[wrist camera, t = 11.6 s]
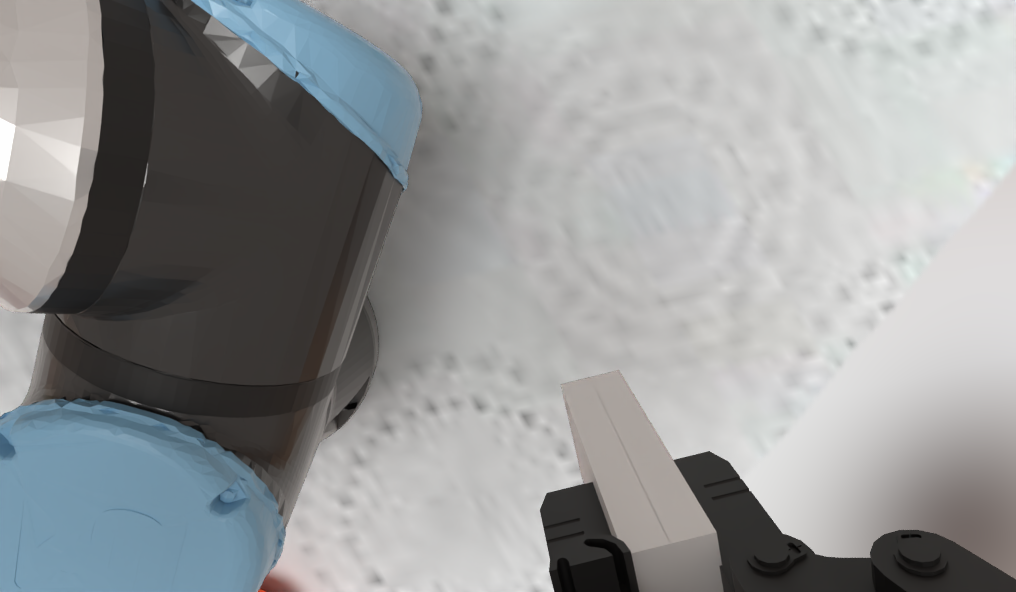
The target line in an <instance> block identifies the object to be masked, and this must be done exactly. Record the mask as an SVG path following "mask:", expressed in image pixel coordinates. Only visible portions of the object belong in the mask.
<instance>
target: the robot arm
mask: <svg viewBox="0 0 1016 592" xmlns="http://www.w3.org/2000/svg"><path fill="white" fill-rule="evenodd" d="M421 119H422V101H421V98H420V95H419V92H418V89H417V86H416V84H415V83H414V81H413V79H412V77H411V75H410V74H409V73H408V72H407V71H406V70H405V69H404V68H403V67H402V66H401V65H400V64H399V63H398V62H397V61H395V60H394V59H393V58H392V57H390V56H389V55H388V54H386V53H385V52H383V51H382V50H381V49H379V48H378V47H376V46H375V45H373V44H372V43H370V42H369V41H367V40H366V39H364V38H363V37H361V36H359V35H358V34H356V33H355V32H353V31H351V30H350V29H348V28H346V27H345V26H343V25H342V24H340V23H338V22H337V21H335V20H333V19H332V18H330V17H328V16H326V15H325V14H323V13H321V12H320V11H318V10H316V9H314V8H313V7H311V6H309V5H307V4H305V3H304V2H302V1H300V0H0V305H1V306H2V307H3V308H4V309H6V310H8V311H11V312H18V313H45V314H46V315H45V319H44V324H43V329H42V333H41V338H40V343H39V347H38V352H37V357H36V361H35V366H34V371H33V375H32V380H31V384H30V387H29V390H28V393H27V395H26V397H25V399H24V401H23V403H22V404H21V406H19V407H18V408H16V409H15V410H13V411H11V412H8V413H4V414H3V415H2V416H0V592H258V590H259V589H260V587H261V585H262V583H263V581H264V579H265V577H266V575H267V574H269V572H270V570H271V569H272V568H274V567H275V565H276V563H277V561H278V560H279V558H280V556H281V553H282V551H283V545H284V540H285V536H286V532H285V529H286V527H287V524H288V522H289V519H290V516H291V514H292V511H293V509H294V506H295V504H296V501H297V499H298V496H299V493H300V491H301V488H302V486H303V483H304V481H305V478H306V476H307V473H308V470H309V468H310V465H311V463H312V460H313V458H314V455H315V453H316V450H317V447H318V445H319V443H320V442H321V441H323V440H324V439H326V438H327V437H329V436H330V435H332V434H333V433H335V432H336V431H337V430H338V429H340V428H341V427H342V426H343V425H344V424H345V423H346V422H347V421H348V420H349V419H350V418H351V417H352V415H353V414H354V413H355V412H356V410H357V409H358V407H359V406H360V404H361V403H362V401H363V399H364V398H365V396H366V394H367V391H368V389H369V386H370V384H371V381H372V377H373V374H374V371H375V367H376V363H377V357H378V347H379V340H378V329H377V323H376V319H375V315H374V312H373V309H372V307H371V304H370V302H369V300H368V298H367V296H366V295H367V292H368V289H369V286H370V283H371V280H372V277H373V274H374V271H375V268H376V265H377V263H378V260H379V257H380V254H381V251H382V248H383V245H384V242H385V239H386V236H387V233H388V230H389V227H390V224H391V221H392V218H393V215H394V212H395V209H396V206H397V203H398V200H399V198H400V195H401V192H404V191H406V189H407V187H408V179H409V178H408V174H407V168H408V165H409V161H410V158H411V154H412V151H413V147H414V144H415V140H416V137H417V133H418V129H419V126H420V122H421ZM561 388H562V392H563V397H564V401H565V405H566V410H567V414H568V419H569V423H570V427H571V432H572V436H573V440H574V445H575V449H576V454H577V458H578V462H579V467H580V471H581V476H582V479H583V482H584V484H582V485H578V486H574V487H570V488H566V489H562V490H558V491H554V492H550V493H547V494H546V496H545V499H544V501H543V504H542V506H541V509H540V512H541V517H542V522H543V527H544V532H545V537H546V541H547V546H548V551H549V556H550V568H549V572H550V576H551V580H552V584H553V588H554V592H1016V580H1015V579H1014V578H1012V577H1011V576H1009V575H1007V574H1006V573H1004V572H1003V571H1001V570H999V569H998V568H996V567H994V566H992V565H991V564H989V563H988V562H986V561H984V560H983V559H981V558H979V557H978V556H976V555H975V554H973V553H971V552H970V551H968V550H966V549H965V548H963V547H961V546H960V545H958V544H956V543H955V542H953V541H951V540H948V539H946V538H944V537H942V536H939V535H937V534H934V533H929V532H924V531H919V530H898V531H895V532H891V533H888V534H884V535H883V536H881V537H880V538H879V539H877V540H876V541H875V542H874V543H873V546H872V549H871V552H870V556H871V558H835V557H824V556H820V555H816V554H815V553H814V552H813V551H812V550H811V549H810V548H809V547H808V546H807V545H805V544H804V543H803V542H802V541H801V540H798V539H796V538H793V537H791V536H788V535H785V534H782V532H781V531H780V530H779V528H778V527H777V526H776V524H775V523H774V522H773V520H772V519H771V518H770V516H769V515H768V514H767V512H766V511H765V510H764V508H763V507H762V506H761V504H760V503H759V502H758V500H757V499H756V498H755V496H754V495H753V494H752V492H751V491H749V488H748V487H747V486H746V484H745V483H744V482H743V480H742V479H740V476H739V475H738V474H737V472H736V471H735V470H734V468H733V467H732V466H731V464H730V463H729V462H728V461H726V460H724V459H723V458H721V457H719V456H717V455H715V454H713V453H712V452H710V451H708V452H704V453H700V454H696V455H692V456H688V457H684V458H680V459H676V460H673V459H672V457H671V456H670V454H669V452H668V451H667V449H666V447H665V446H664V444H663V442H662V441H661V439H660V437H659V436H658V434H657V432H656V431H655V429H654V427H653V426H652V424H651V422H650V421H649V419H648V417H647V416H646V414H645V412H644V411H643V409H642V407H641V406H640V404H639V403H638V401H637V399H636V398H635V396H634V394H633V393H632V391H631V389H630V388H629V386H628V384H627V383H626V381H625V379H624V378H623V376H622V374H621V373H620V371H619V370H617V371H613V372H609V373H605V374H601V375H597V376H593V377H589V378H585V379H581V380H577V381H572V382H568V383H564V384H561Z"/></svg>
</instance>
